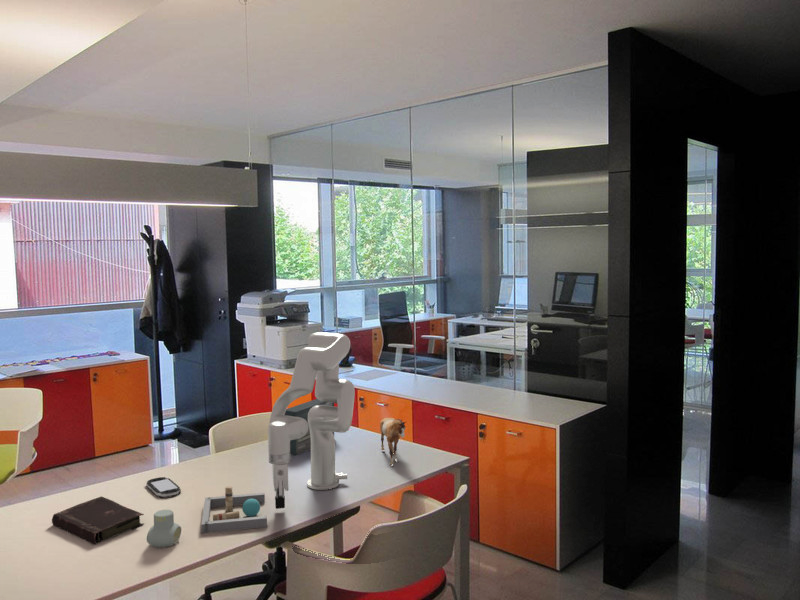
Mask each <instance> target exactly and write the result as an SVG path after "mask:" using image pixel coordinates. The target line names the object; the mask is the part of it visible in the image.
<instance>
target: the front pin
mask: <svg viewBox="0 0 800 600" xmlns="http://www.w3.org/2000/svg"><path fill="white" fill-rule="evenodd" d="M238 518H241V516H240V511H239V510H238V511H232V512H229V513H227V512H221V513H217V514H216V513H215V514H212V521H217V520H228V519H238Z"/></svg>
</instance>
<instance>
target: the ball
mask: <svg viewBox="0 0 800 600" xmlns="http://www.w3.org/2000/svg"><path fill="white" fill-rule="evenodd" d="M241 510H242V512H243V514H244V515H246V516H247V517H256V516H257V515H258V514H259V512H260V510H261V503H259V502H258V501H257V500H256V499H248V500H246V501H245V502H244V504H242V509H241Z"/></svg>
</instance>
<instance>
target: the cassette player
mask: <svg viewBox="0 0 800 600" xmlns="http://www.w3.org/2000/svg"><path fill="white" fill-rule="evenodd" d="M316 405H326V406H333V407H335V403H331V402H324V401H320V400H318V399H317V398H315V399H313V400H310V401H307V402H306V401H305V402H303V403H300V404H298V405H295V406H294V405H293V406H291V407H287V409H286V411H285V415H287V416H293V417H300V418H303V419H305V420H306V421H307V423H308V412H309V410H310V409H311V408H312V407H314V406H316ZM332 433H333V435H334V436H335V432H332ZM308 451H311V437H310V429H309V424H308V431H307V433H306V435H305V436H303V437H302V438H299V439H294V440H291V441H290V456H299V455H301V454H303V453H305V452H308Z"/></svg>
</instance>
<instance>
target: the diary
mask: <svg viewBox="0 0 800 600" xmlns="http://www.w3.org/2000/svg"><path fill="white" fill-rule="evenodd" d="M141 516H144V513H142V512H139V511H137V510H134V509H132V508H128V507H127V506H124V505H122V504H119V503H118V502H116V501H114V500H112V499H111V498H110V499H109V498H106V497H104V496H98V497H96V498H92V499H90V500H87V501H84V502H80V503H79V504H75V505H73V506H71V507H69V508H65V509H64V510H62V511H58V512H55V513H53V515H52V519H51V524H52V525H53V526H54V527H56V528H59V529H61V530H63V531H65V532H67V533H69V534H71V535H73V536H75V537H77V538H79V539H81V540H84V541H86V542H88V543H89V544H92V545H94V546H96V545H97V542H99V543H100V542H101V540H102V541H106V540H108V539H110V538H114V537H115V536H117V535H120V534H123V533H125V532H127V531H130V530H131V531H133V530H136V529H138V528H141V527H143V526H144V525H145V523H141V519H140V518H141Z"/></svg>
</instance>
